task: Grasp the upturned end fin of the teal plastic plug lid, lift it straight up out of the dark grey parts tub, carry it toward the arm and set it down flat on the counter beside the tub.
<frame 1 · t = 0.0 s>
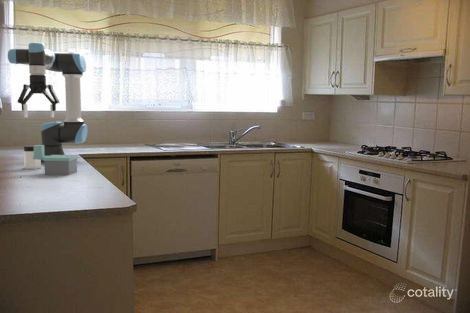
hand: (39, 117, 251), 28 cm above the countertop, fingers open, 13 cm apart
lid: (60, 159, 252), point 7 cm above the countertop, touching tub
tub: (61, 173, 253), on the countertop
jar: (32, 168, 270), on the countertop
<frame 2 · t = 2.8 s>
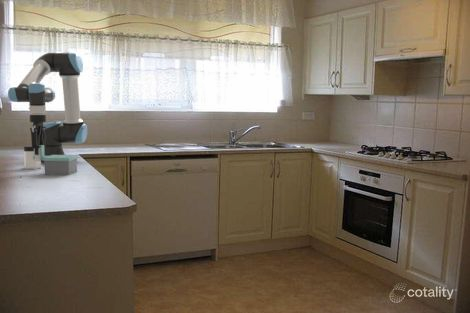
hand: (39, 160, 252), 6 cm above the countertop, fingers closed on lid, 3 cm apart
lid: (60, 159, 252), point 7 cm above the countertop, touching gripper, tub
everything else where it was.
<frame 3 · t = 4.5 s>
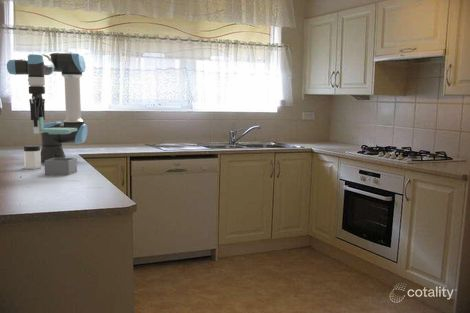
hand: (38, 132, 251), 20 cm above the countertop, fingers closed on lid, 3 cm apart
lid: (60, 131, 250), point 21 cm above the countertop, touching gripper
everything else where it was.
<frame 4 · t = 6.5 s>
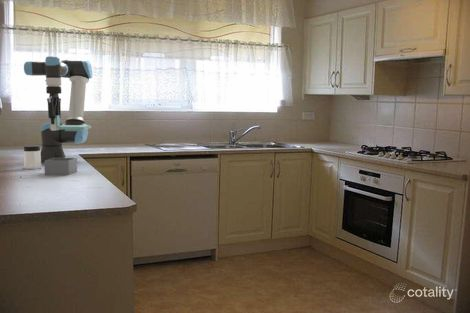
hand: (55, 130, 267), 21 cm above the countertop, fingers closed on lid, 3 cm apart
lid: (75, 128, 267), point 21 cm above the countertop, touching gripper
everything else where it was.
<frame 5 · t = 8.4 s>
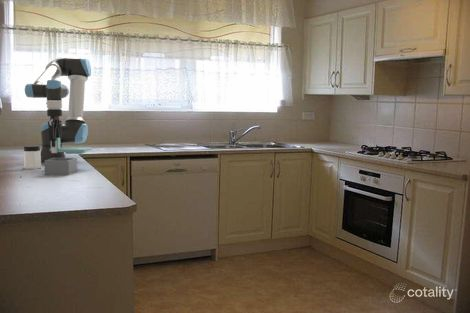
hand: (55, 152, 269), 9 cm above the countertop, fingers closed on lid, 3 cm apart
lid: (76, 151, 268), point 9 cm above the countertop, touching gripper
everything else where it was.
when the fingers open (1 cm above the countertop, at t = 10.1 s): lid drops 1 cm, point 1 cm above the countertop.
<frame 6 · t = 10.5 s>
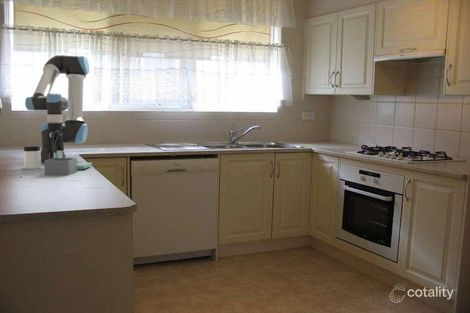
hand: (56, 163, 270), 2 cm above the countertop, fingers open, 10 cm apart
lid: (76, 166, 270), point 1 cm above the countertop
everything else where it was.
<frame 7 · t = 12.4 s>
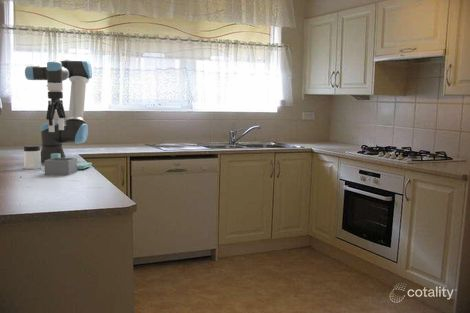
hand: (56, 131, 269), 20 cm above the countertop, fingers open, 13 cm apart
nothing on the countertop moved.
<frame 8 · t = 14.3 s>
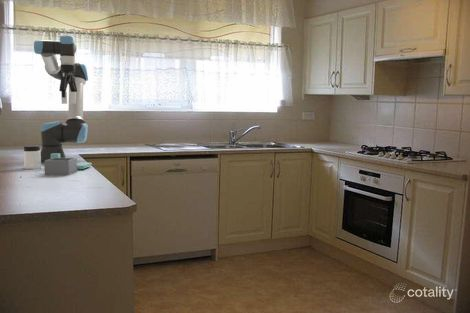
hand: (68, 103, 274), 35 cm above the countertop, fingers open, 13 cm apart
nothing on the countertop moved.
at the end: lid inside the target area (0.3 cm from its centre), point 0.9 cm above the countertop; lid touching countertop; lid tilted 0° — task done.
